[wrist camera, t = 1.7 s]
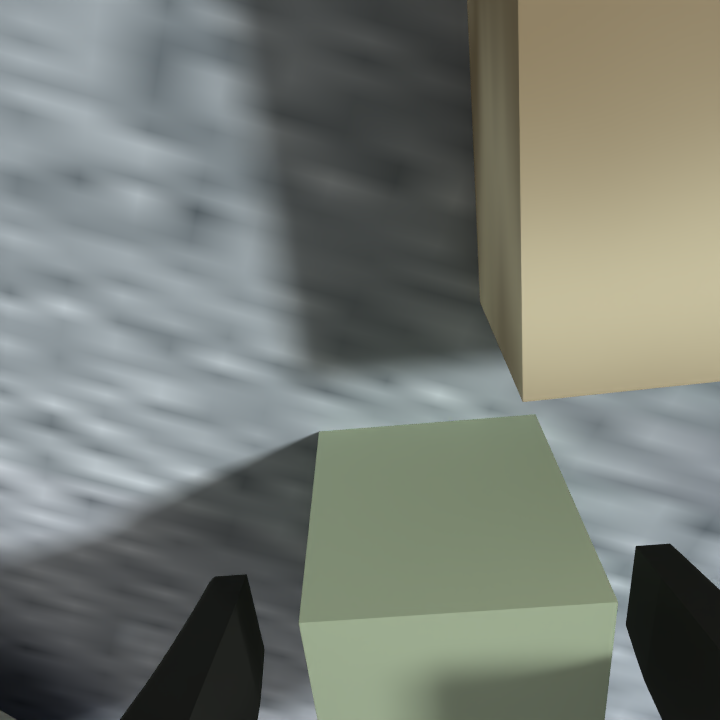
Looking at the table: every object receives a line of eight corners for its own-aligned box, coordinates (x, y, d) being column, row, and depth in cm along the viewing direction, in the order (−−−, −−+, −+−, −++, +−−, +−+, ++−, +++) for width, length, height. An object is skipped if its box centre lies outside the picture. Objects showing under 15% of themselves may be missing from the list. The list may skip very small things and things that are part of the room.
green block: (529, 573, 16) (596, 791, 11) (342, 586, 16) (334, 805, 11) (534, 412, 14) (617, 601, 9) (319, 429, 14) (298, 623, 9)
